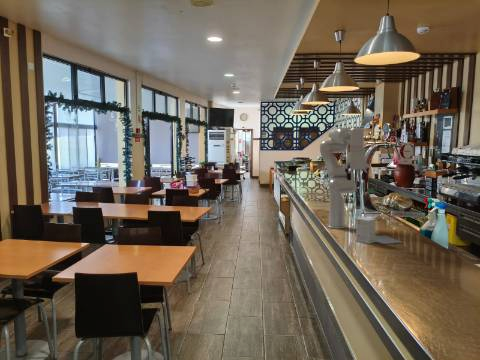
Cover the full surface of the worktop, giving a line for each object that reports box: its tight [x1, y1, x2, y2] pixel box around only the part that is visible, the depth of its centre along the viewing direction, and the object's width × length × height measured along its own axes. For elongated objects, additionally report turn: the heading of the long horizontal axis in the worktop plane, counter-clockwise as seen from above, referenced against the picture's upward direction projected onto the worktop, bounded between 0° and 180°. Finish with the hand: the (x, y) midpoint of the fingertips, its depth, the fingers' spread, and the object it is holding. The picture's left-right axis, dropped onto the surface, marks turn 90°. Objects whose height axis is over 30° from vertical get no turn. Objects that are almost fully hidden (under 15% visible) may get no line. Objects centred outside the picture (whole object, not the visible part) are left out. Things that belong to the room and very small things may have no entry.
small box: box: [355, 216, 376, 245], centre depth 206 cm, size 8×6×13 cm
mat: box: [375, 235, 404, 245], centre depth 210 cm, size 16×13×1 cm
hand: (356, 179), depth 212 cm, fingers open, 9 cm apart
